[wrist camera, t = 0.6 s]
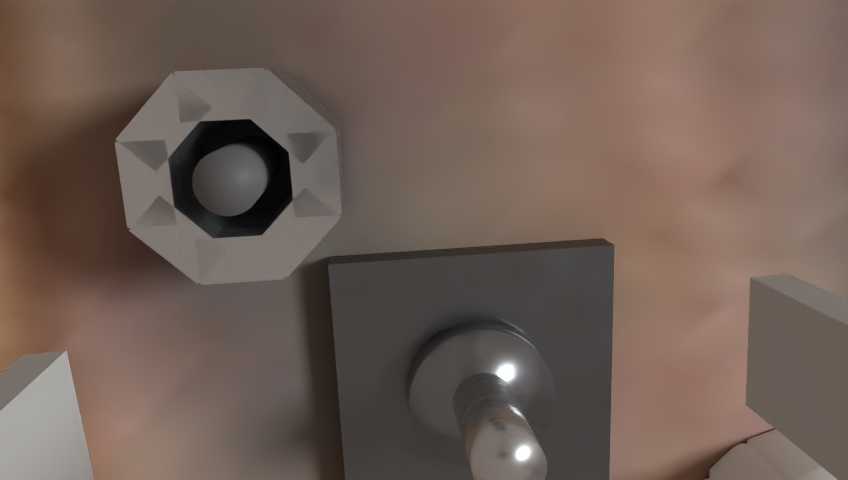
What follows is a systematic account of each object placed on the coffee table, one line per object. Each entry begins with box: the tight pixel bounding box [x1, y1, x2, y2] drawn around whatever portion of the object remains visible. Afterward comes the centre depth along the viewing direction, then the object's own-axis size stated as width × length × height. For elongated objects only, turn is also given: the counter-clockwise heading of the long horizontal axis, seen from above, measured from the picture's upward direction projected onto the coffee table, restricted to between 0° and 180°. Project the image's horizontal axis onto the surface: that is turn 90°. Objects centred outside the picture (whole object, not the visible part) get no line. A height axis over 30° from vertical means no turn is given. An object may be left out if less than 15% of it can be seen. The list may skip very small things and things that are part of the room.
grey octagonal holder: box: [115, 68, 344, 285], centre depth 28 cm, size 8×8×6 cm
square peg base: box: [328, 238, 614, 480], centre depth 31 cm, size 14×14×9 cm
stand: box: [192, 119, 292, 216], centre depth 28 cm, size 6×6×8 cm
